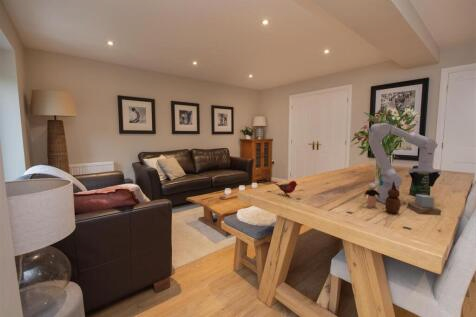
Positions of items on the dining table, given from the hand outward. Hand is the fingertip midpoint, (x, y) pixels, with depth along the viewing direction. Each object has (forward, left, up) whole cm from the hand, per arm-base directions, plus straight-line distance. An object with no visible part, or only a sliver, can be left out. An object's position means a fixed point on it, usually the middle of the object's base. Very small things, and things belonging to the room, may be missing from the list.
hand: (422, 186), depth 118 cm
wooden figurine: (-24, -18, -10) cm, 31 cm away
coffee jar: (+9, +16, -10) cm, 20 cm away
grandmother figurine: (-31, -12, -10) cm, 35 cm away
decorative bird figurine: (-73, +4, -10) cm, 74 cm away
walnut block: (-8, -14, -10) cm, 19 cm away
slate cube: (-8, -14, -7) cm, 17 cm away
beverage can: (-11, +16, -10) cm, 22 cm away
